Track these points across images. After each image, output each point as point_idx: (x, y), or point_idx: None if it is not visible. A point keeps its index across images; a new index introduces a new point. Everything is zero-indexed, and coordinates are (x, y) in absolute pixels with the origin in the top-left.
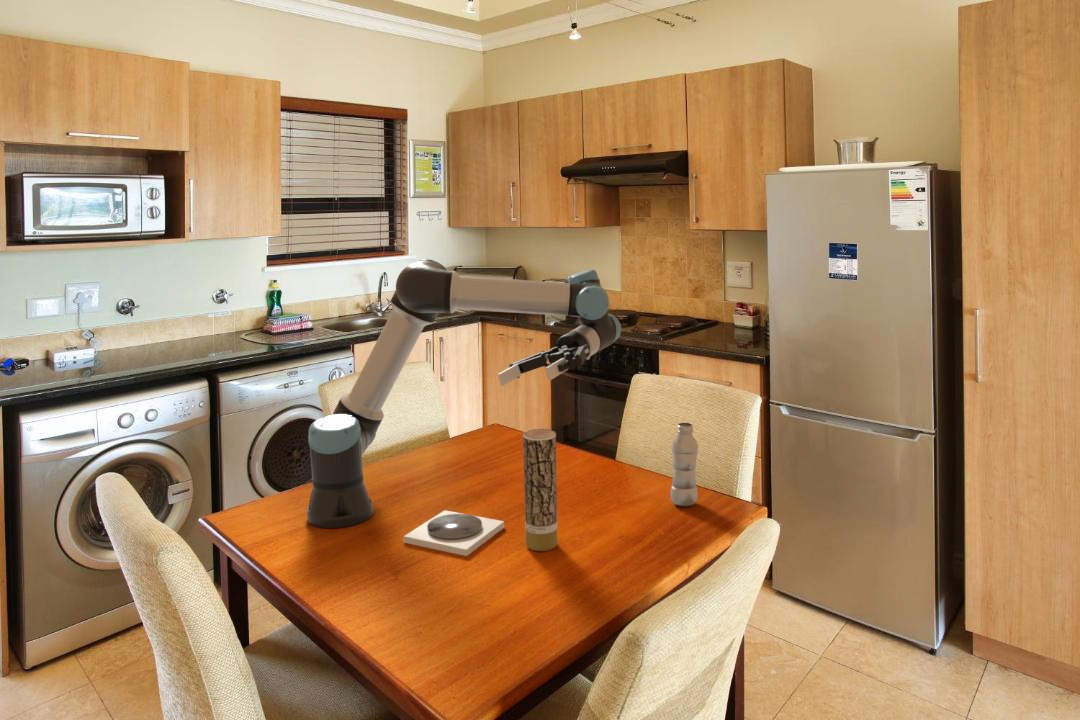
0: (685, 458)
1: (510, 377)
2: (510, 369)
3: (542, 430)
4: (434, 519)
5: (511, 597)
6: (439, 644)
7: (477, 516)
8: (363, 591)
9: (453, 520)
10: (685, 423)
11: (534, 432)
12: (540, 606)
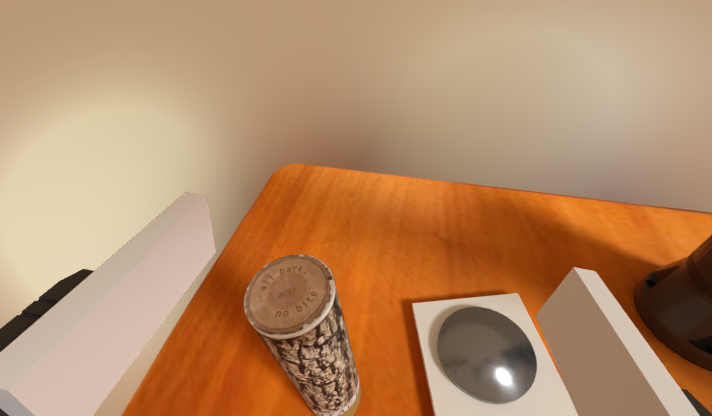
0: None
1: (584, 381)
2: (638, 382)
3: (291, 317)
4: (530, 348)
5: None
6: (328, 194)
7: None
8: (440, 210)
9: (501, 362)
10: None
11: (306, 291)
12: None
